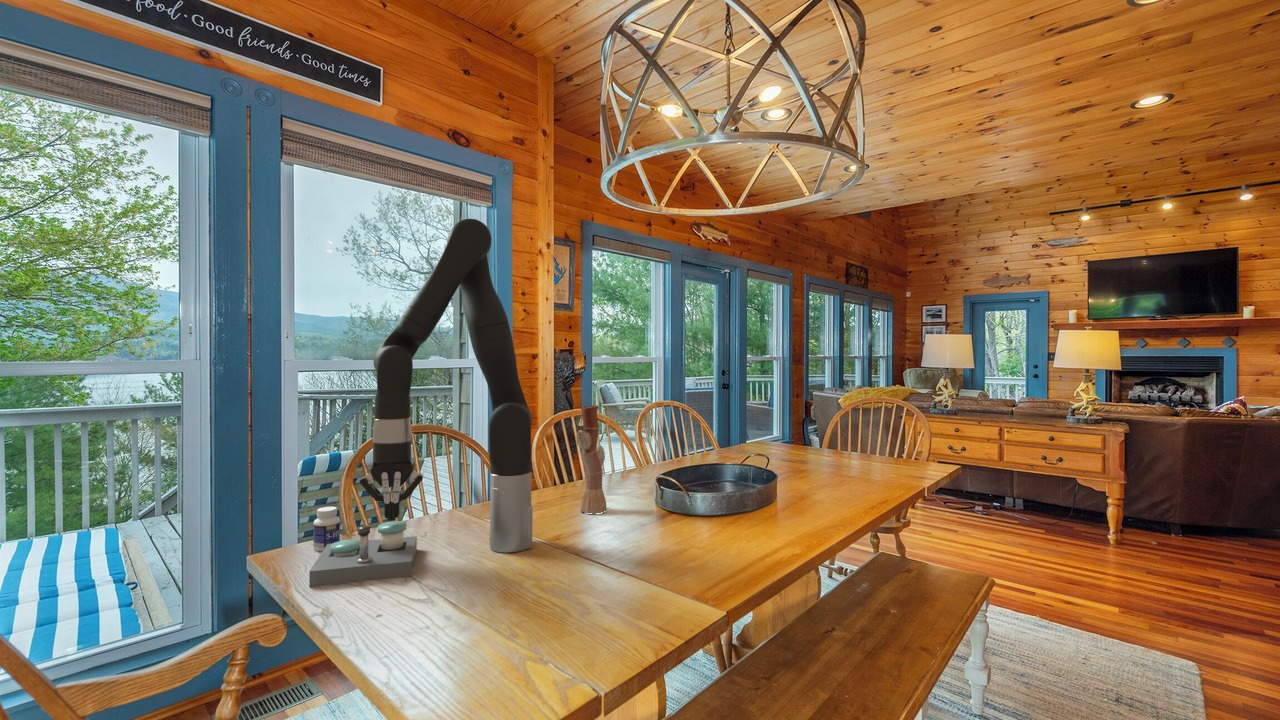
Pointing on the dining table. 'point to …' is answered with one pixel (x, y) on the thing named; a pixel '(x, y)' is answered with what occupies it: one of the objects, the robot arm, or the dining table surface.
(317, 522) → the pill bottle
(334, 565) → the mount board
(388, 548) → the knob
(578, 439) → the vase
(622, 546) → the dining table surface
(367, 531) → the post
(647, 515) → the dining table surface
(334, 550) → the knob
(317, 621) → the dining table surface
